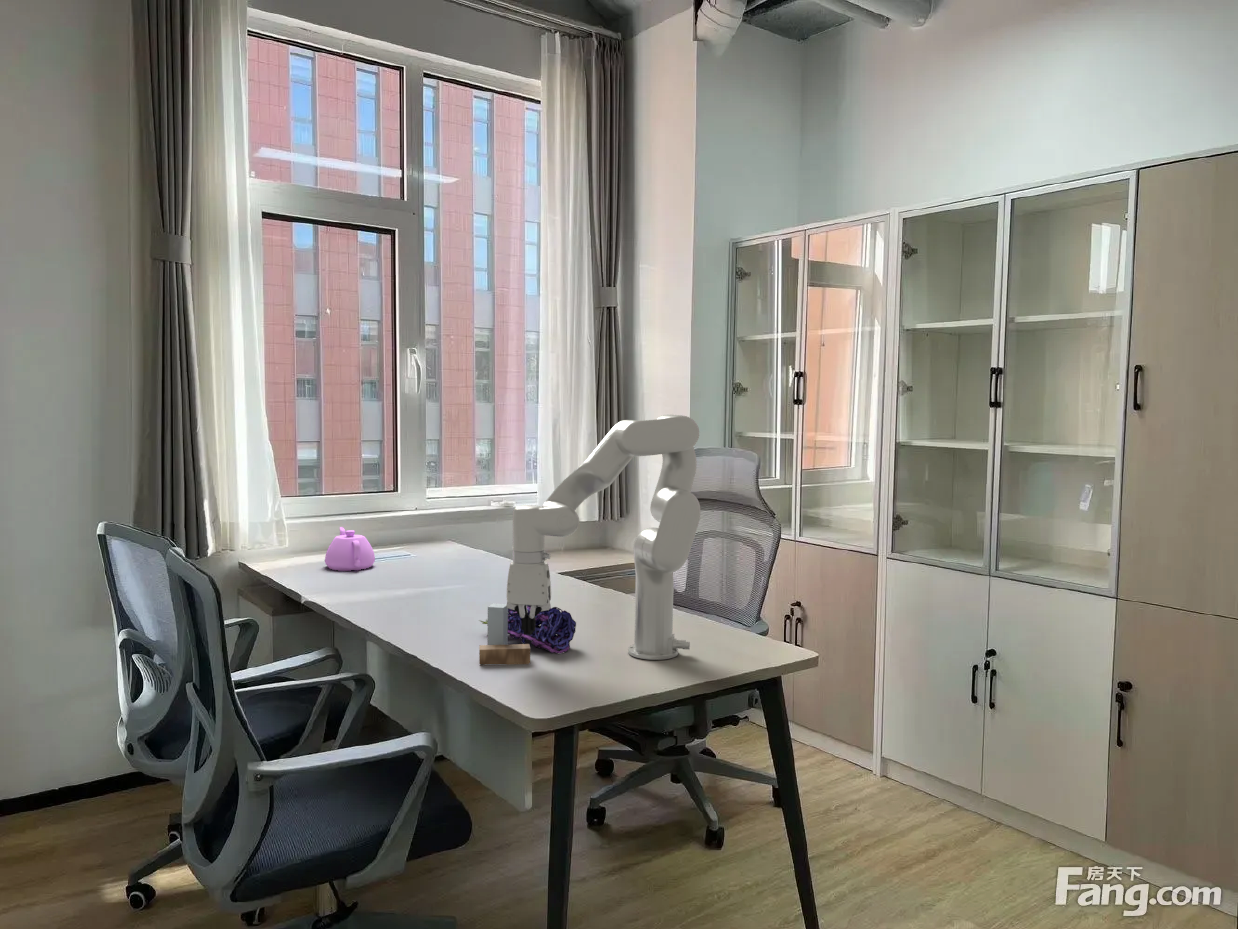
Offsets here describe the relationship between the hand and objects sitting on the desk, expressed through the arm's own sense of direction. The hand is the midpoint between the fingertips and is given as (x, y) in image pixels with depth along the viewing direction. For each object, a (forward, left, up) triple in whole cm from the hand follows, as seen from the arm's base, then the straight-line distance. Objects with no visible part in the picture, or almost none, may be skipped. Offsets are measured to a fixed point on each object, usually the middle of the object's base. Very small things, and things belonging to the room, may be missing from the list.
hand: (528, 633), depth 219 cm
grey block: (+10, -7, -7) cm, 14 cm away
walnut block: (0, -2, -6) cm, 6 cm away
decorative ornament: (+6, -19, -8) cm, 21 cm away
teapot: (+96, -106, -8) cm, 143 cm away
